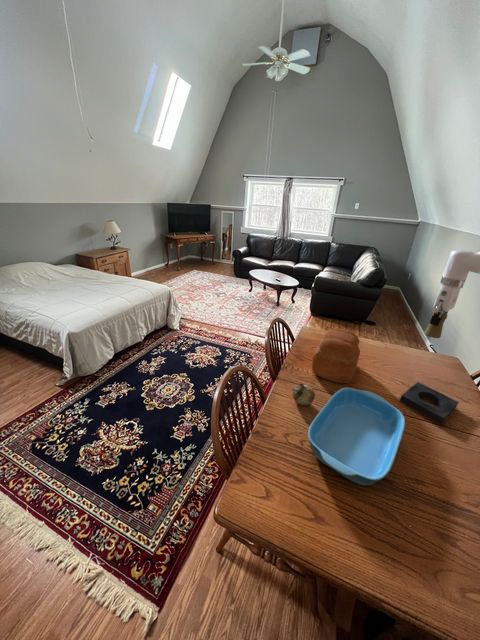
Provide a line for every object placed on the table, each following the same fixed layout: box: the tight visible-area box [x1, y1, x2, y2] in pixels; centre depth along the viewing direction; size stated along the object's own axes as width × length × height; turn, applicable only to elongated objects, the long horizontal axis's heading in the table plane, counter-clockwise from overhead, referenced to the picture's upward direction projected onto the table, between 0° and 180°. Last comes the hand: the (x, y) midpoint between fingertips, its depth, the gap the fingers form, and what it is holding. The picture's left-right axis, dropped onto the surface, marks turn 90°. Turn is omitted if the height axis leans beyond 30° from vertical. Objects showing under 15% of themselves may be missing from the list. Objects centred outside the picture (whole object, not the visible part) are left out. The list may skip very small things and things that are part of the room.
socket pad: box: [399, 381, 460, 426], centre depth 99 cm, size 14×14×3 cm
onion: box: [291, 382, 316, 406], centre depth 97 cm, size 8×8×8 cm
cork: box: [423, 311, 448, 339], centre depth 114 cm, size 6×6×11 cm
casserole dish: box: [307, 387, 406, 486], centre depth 82 cm, size 37×22×7 cm, turn 140°
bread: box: [311, 328, 361, 384], centre depth 115 cm, size 18×22×17 cm
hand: (436, 322), depth 114 cm, fingers closed on cork, 5 cm apart
